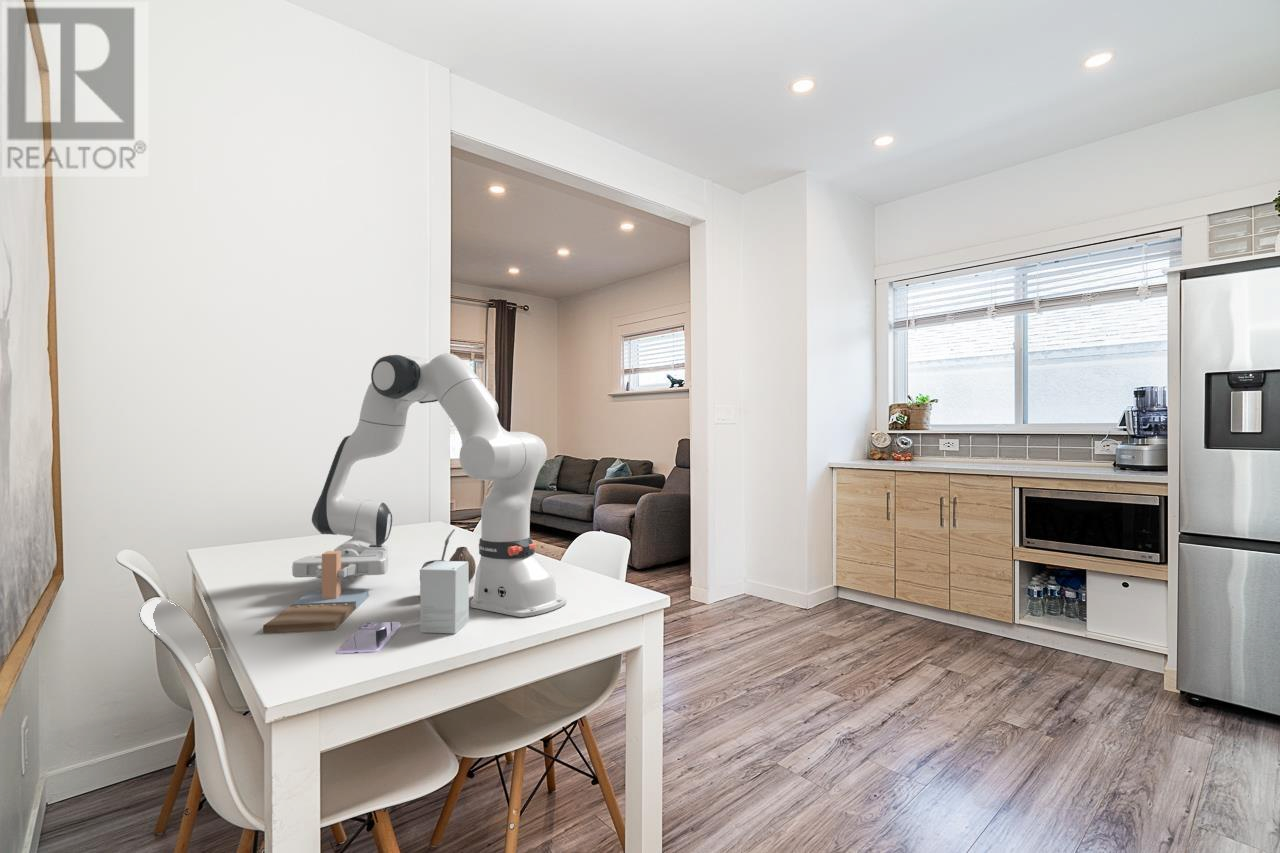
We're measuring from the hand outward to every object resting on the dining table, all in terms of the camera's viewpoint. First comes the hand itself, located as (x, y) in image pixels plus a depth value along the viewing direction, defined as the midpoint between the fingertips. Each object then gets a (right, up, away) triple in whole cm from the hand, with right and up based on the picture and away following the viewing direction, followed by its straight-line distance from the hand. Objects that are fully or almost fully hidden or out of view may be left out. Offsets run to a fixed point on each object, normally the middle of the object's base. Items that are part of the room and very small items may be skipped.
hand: (330, 574), depth 130 cm
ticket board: (+2, -7, -10) cm, 12 cm away
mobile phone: (+18, -8, -19) cm, 27 cm away
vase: (+23, -7, +20) cm, 32 cm away
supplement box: (+30, -8, -13) cm, 34 cm away
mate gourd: (+21, -7, +8) cm, 24 cm away
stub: (0, -7, +1) cm, 7 cm away
